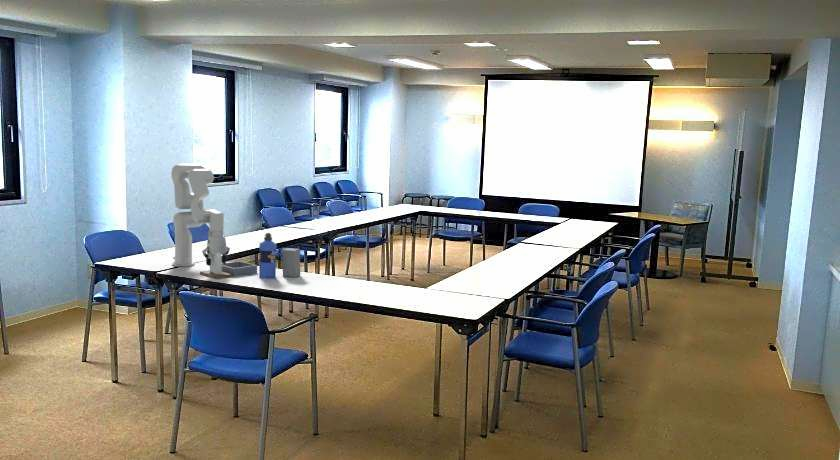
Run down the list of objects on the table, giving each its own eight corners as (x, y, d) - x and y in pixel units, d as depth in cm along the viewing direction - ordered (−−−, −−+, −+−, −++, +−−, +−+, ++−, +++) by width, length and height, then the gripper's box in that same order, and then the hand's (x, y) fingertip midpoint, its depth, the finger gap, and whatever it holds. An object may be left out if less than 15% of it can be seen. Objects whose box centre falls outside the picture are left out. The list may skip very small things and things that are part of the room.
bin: (216, 271, 401) (216, 264, 400) (240, 268, 413) (240, 260, 413) (233, 276, 391) (233, 268, 390) (257, 272, 403) (257, 265, 403)
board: (200, 274, 393) (200, 271, 392) (215, 271, 400) (215, 269, 400) (216, 279, 383) (216, 276, 382) (232, 276, 390) (232, 274, 390)
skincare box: (300, 275, 402) (301, 248, 399) (294, 278, 395) (295, 250, 393) (287, 274, 404) (288, 247, 402) (281, 276, 398) (281, 248, 395)
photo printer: (208, 271, 394) (208, 249, 392) (216, 270, 397) (216, 249, 395) (215, 274, 386) (215, 252, 384) (222, 274, 389) (222, 252, 387)
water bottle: (279, 276, 397) (280, 233, 393) (269, 279, 388) (269, 235, 385) (265, 274, 400) (266, 231, 397) (255, 277, 392) (256, 233, 388)
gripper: (206, 236, 379) (206, 267, 382) (233, 233, 392) (233, 263, 395) (198, 234, 384) (198, 265, 386) (225, 231, 397) (225, 261, 400)
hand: (216, 264), depth 391 cm, fingers open, 9 cm apart
